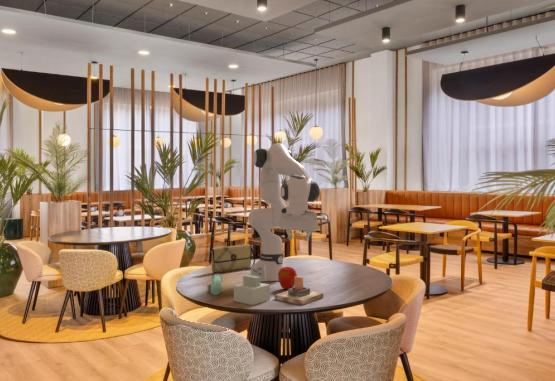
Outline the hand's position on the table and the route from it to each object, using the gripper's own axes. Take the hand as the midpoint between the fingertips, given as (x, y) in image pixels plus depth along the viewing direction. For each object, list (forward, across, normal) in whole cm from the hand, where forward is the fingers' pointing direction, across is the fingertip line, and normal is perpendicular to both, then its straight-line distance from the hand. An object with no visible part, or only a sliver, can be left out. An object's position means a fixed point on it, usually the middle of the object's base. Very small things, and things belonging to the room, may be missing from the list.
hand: (298, 239), depth 217 cm
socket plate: (+27, 0, 0) cm, 27 cm away
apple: (+28, +15, -10) cm, 33 cm away
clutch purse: (+28, +69, -26) cm, 79 cm away
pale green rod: (+28, +43, +12) cm, 53 cm away
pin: (+25, 0, 0) cm, 25 cm away
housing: (+27, +15, +16) cm, 35 cm away
